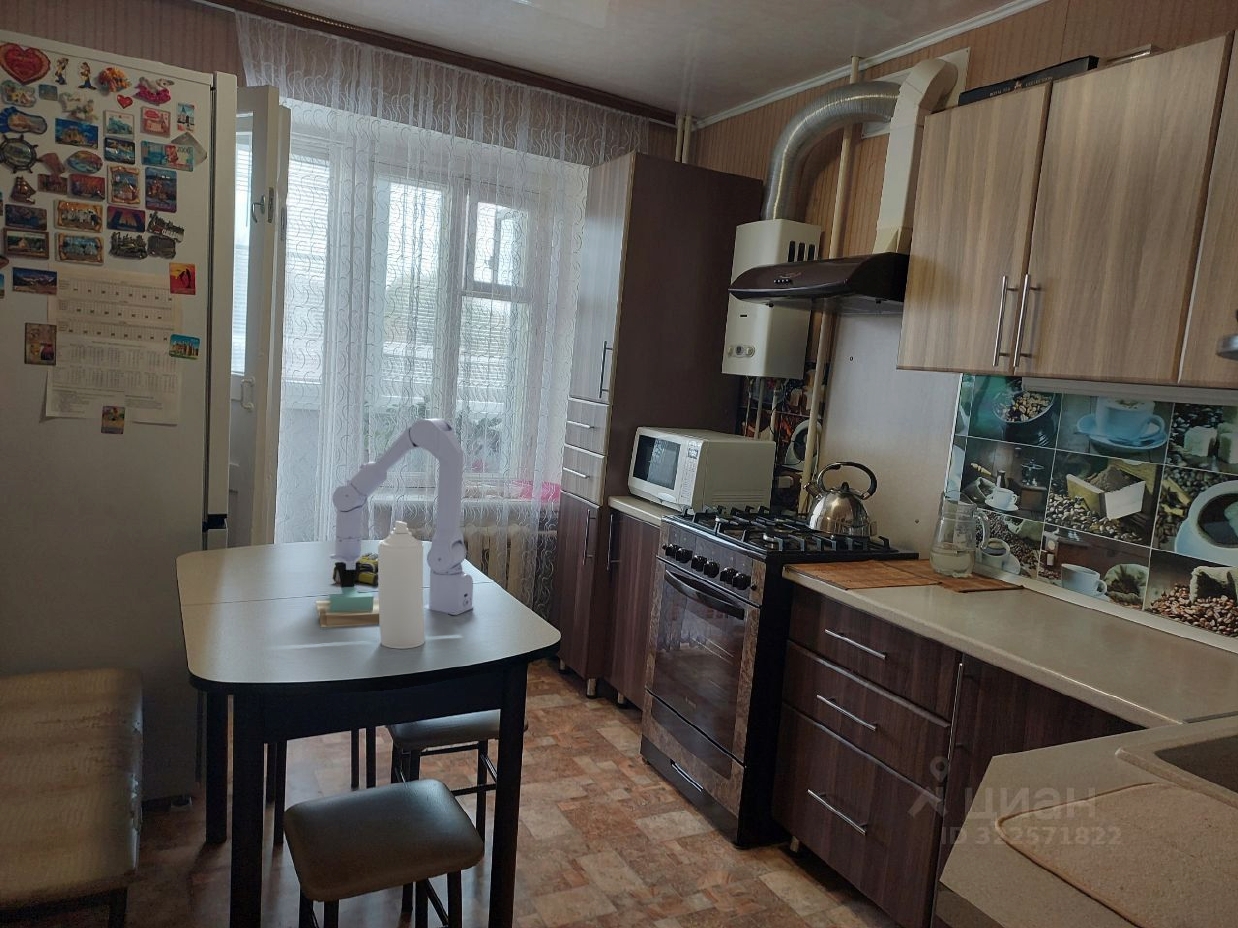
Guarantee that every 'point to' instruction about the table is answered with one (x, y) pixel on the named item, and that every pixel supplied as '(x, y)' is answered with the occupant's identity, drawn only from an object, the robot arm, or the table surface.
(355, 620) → the board
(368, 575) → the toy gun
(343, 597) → the t block
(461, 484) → the robot arm
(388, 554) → the spray can
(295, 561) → the table surface
